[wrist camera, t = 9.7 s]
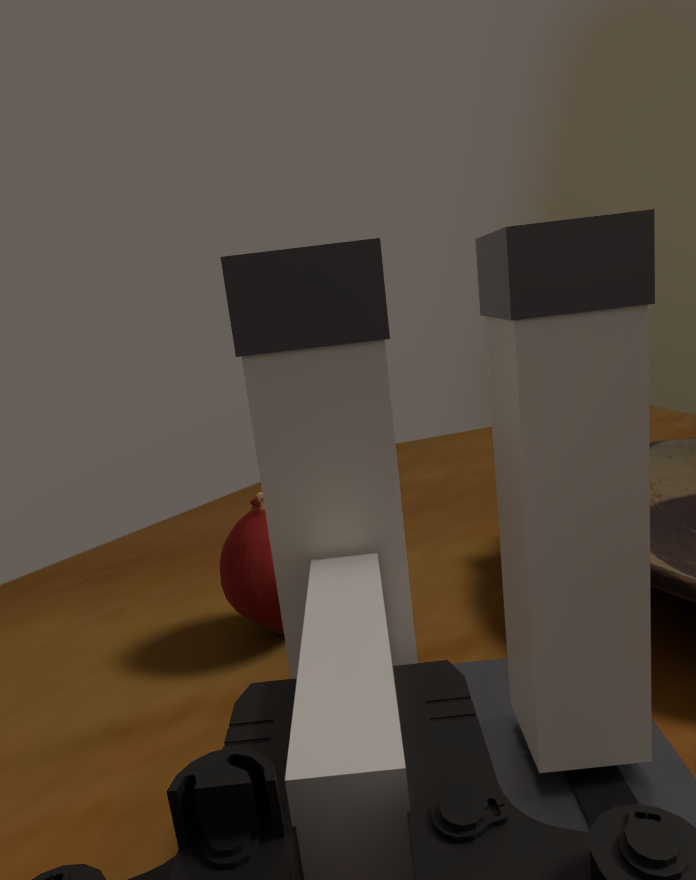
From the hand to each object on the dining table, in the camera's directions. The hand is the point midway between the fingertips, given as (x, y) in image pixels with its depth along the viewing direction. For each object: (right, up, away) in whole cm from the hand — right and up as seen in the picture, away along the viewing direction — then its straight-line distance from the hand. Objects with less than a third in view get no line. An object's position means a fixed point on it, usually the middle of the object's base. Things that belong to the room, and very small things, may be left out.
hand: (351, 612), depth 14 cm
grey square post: (+1, -5, +3) cm, 6 cm away
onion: (-3, -7, +20) cm, 22 cm away
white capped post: (+7, -5, +4) cm, 9 cm away
